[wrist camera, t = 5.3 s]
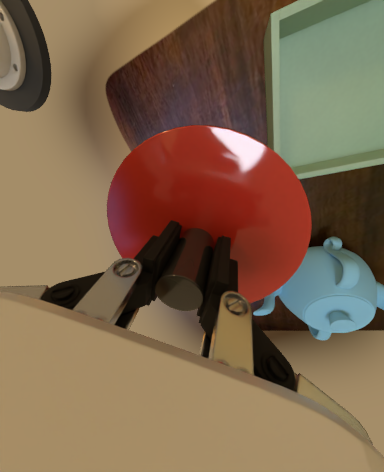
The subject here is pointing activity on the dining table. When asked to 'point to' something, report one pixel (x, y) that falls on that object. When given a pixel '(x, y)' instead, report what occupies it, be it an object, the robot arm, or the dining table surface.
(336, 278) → the teapot
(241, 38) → the dining table surface
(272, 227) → the lid
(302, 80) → the green square tray
